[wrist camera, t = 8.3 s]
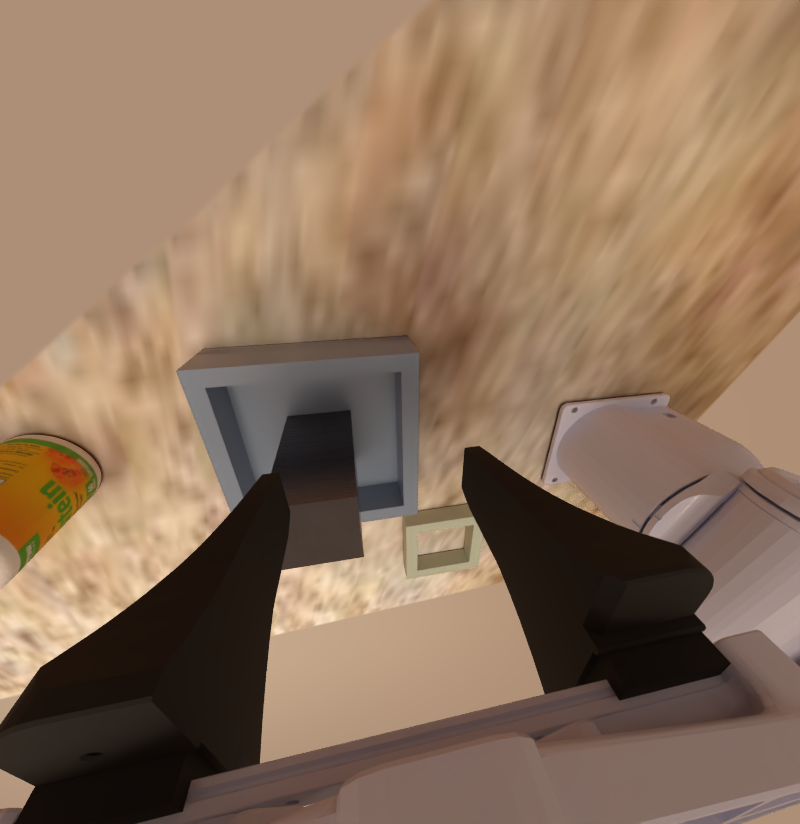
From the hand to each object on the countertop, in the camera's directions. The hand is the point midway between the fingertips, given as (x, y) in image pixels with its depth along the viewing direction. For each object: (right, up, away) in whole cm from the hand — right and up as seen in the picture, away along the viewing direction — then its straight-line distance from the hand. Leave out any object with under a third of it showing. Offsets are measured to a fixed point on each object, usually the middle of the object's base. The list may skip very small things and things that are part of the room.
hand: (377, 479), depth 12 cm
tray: (-4, +2, +10) cm, 11 cm away
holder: (+5, -9, +17) cm, 20 cm away
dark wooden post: (-4, +1, +9) cm, 10 cm away
